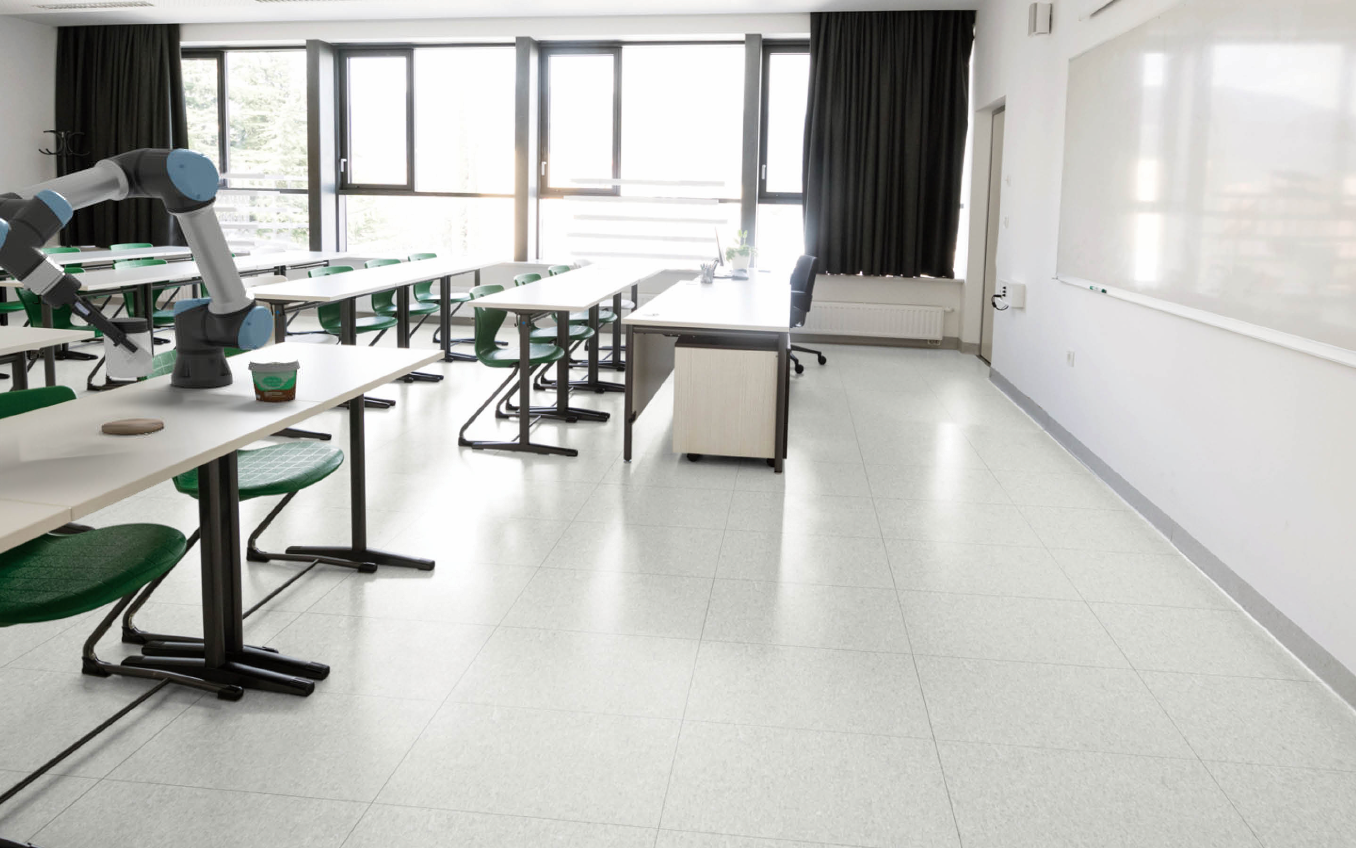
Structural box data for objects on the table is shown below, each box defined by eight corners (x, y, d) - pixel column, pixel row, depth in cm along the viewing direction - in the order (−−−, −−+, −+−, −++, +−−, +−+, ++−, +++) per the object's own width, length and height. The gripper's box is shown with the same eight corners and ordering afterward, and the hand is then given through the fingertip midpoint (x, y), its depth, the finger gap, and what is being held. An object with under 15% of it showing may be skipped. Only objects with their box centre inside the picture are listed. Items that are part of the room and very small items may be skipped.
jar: (108, 379, 214) (103, 322, 211) (105, 372, 220) (100, 317, 218) (155, 376, 219) (151, 321, 216) (151, 370, 225) (147, 316, 223)
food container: (252, 404, 251) (249, 364, 248) (249, 400, 256) (247, 361, 254) (304, 402, 256) (302, 363, 254) (301, 397, 262) (299, 359, 259)
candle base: (100, 425, 223) (99, 421, 223) (160, 421, 230) (160, 416, 230) (103, 437, 214) (103, 432, 213) (167, 432, 220) (166, 427, 220)
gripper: (37, 292, 215) (129, 363, 228) (40, 302, 199) (138, 378, 211) (64, 267, 217) (154, 339, 229) (69, 274, 201) (165, 351, 213)
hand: (146, 357), depth 220 cm, fingers closed on jar, 7 cm apart
